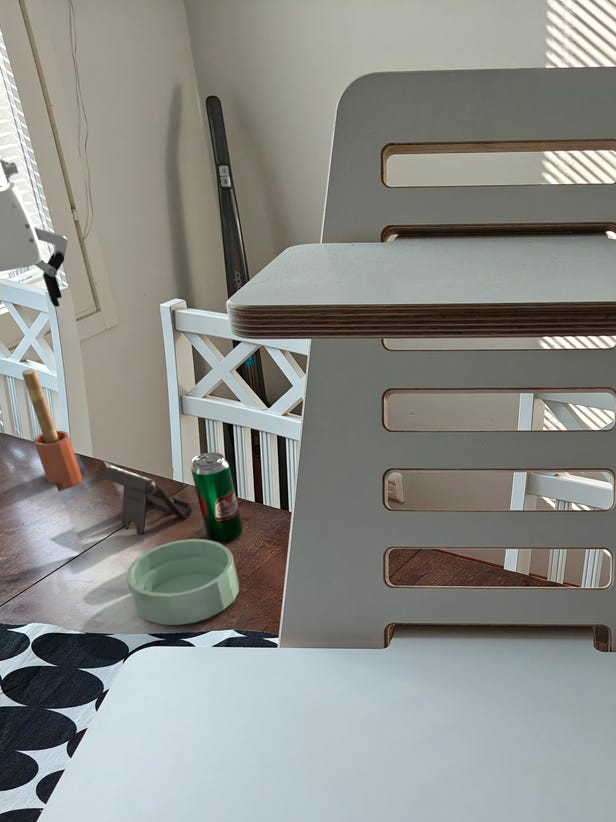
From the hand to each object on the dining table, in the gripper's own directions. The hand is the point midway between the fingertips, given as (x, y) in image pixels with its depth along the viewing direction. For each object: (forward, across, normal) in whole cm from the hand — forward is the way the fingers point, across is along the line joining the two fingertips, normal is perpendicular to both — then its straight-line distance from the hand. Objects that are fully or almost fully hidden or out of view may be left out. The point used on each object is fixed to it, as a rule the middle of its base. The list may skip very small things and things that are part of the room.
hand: (19, 310), depth 136 cm
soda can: (+28, -16, +26) cm, 41 cm away
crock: (+28, +1, -3) cm, 28 cm away
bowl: (+28, -7, +39) cm, 48 cm away
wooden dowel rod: (+28, +1, -3) cm, 28 cm away
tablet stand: (+28, -8, +16) cm, 33 cm away
